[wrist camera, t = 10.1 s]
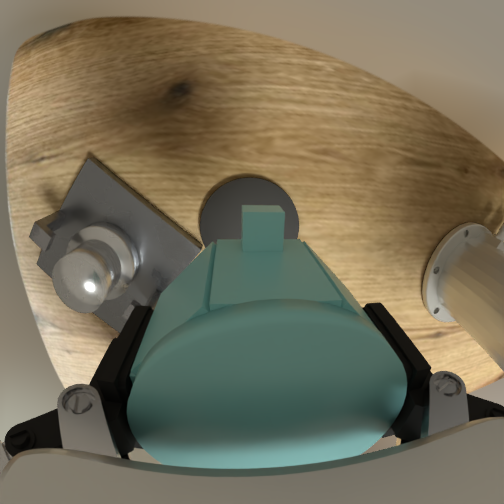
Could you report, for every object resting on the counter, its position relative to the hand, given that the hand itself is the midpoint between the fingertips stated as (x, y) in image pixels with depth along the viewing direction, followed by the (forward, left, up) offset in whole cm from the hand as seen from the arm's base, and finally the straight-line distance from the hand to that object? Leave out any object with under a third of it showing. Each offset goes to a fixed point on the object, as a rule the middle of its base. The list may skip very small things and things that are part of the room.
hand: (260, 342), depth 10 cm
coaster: (0, 0, -16) cm, 16 cm away
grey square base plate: (+10, -8, -16) cm, 21 cm away
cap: (0, 0, -1) cm, 1 cm away
